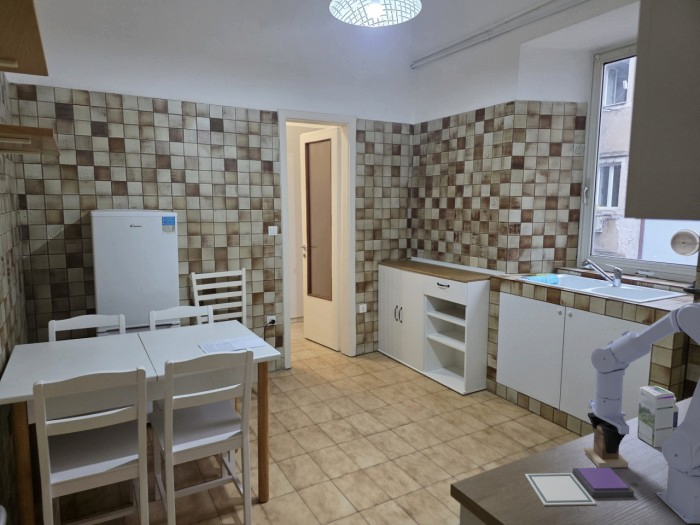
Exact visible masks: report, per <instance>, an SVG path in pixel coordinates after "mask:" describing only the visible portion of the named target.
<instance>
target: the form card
mask: <svg viewBox="0 0 700 525" xmlns="http://www.w3.org/2000/svg"><path fill="white" fill-rule="evenodd" d="M524 477H525V478H526V480H527V481H528V483H529V484H530V485H531V487H532V489H533V490H534V492H535V494H536V495H537V497H538V498H539V500H540V501H541V503H542V504H543V506H582V505H583V506H585V505H586V506H590V505H591V506H592V505H595V506H596V505H597V502H596V501H595V500H594V499H593V497H592V496H591V495H590V494H589V492H588V491H587V490H586V489H585V488H584V486H583V485H582V484H581V483H580V481H579V480H578V479H577V478H576V477H575V475H574V474H573V472H563V473H561V472H559V473H555V472H554V473H524Z"/></svg>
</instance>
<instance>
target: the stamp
mask: <svg viewBox="0 0 700 525" xmlns="http://www.w3.org/2000/svg"><path fill="white" fill-rule="evenodd" d="M601 425H609V424H606V423H600V424H597V428H594V430H593V447H584V449H583V451H584V453H585V455H586V456H587V457H588V458H589V459H590V461H592V463H593V464H594V465H595V466H596V468H612V469H627V468H629V461H627V460H626V458H624V457H623V456H622V455H621V454H620V447H619V448H618V450H617V453H616V454H608V453H607V452H606V447H605V437H604V433H603V430H602V428H601Z"/></svg>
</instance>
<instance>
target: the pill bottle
mask: <svg viewBox="0 0 700 525" xmlns="http://www.w3.org/2000/svg"><path fill="white" fill-rule="evenodd" d="M676 403H677V397H676V396H674V413H673V430H672V433H673V431H674V430H675V429H676V428H677V427H678V422H679V421H678V420H679V406H678V405H677V404H676Z"/></svg>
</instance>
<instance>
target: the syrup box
mask: <svg viewBox="0 0 700 525" xmlns="http://www.w3.org/2000/svg"><path fill="white" fill-rule="evenodd" d="M638 394H639V395H638V396H639V397H638V414H637V415H638V416H637V436H636V437H637V438H638V439H640V440H641V441H643V443H644V442H645V443H646V444H648V445H649V446H650V447H652V448H662V444H663V443H664V441H665V440H667V439H669V438H670V437H671V435H672V430H673V413H674V397H675V393H674V392H672V391H670V390H668V389H666V388H663V387H661V386H659V385H656V384H655V385H646V386H645V385H644V386H640V387H639V393H638Z"/></svg>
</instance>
